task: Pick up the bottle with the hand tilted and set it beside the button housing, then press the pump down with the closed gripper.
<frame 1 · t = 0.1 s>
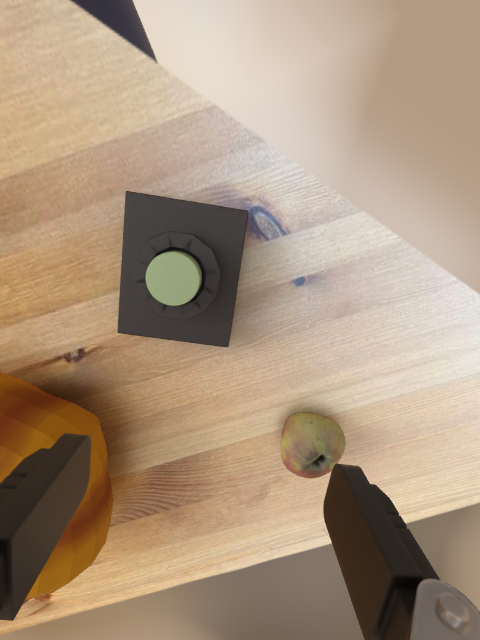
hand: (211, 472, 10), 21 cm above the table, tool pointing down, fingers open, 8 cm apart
decorative pumpkin: (36, 444, 34), on the table
button housing: (185, 271, 29), on the table
pump: (175, 277, 24), point 6 cm above the table, slide at 0.1 cm
apple: (298, 425, 34), on the table
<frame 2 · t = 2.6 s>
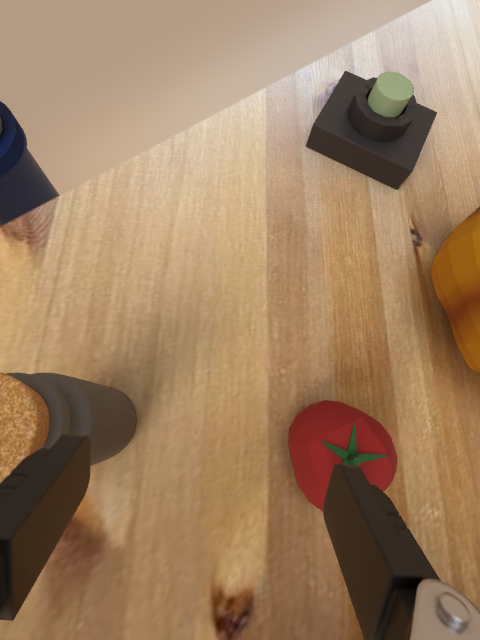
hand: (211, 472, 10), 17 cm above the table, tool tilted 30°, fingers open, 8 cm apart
button housing: (365, 139, 38), on the table
bottle: (102, 422, 27), on the table
tomato: (323, 446, 28), on the table
pump: (389, 95, 33), point 6 cm above the table, slide at 0.1 cm
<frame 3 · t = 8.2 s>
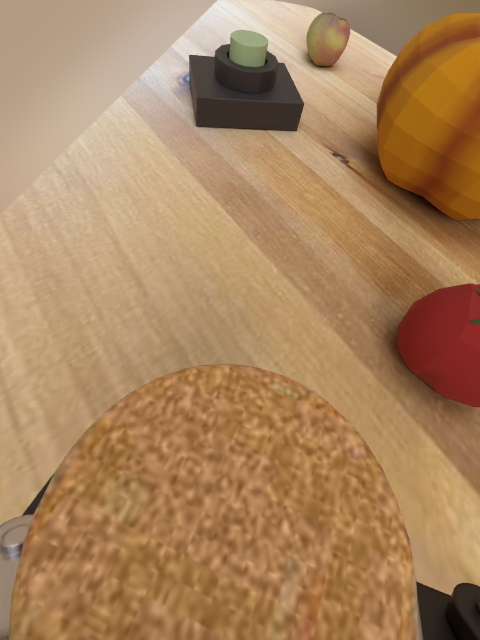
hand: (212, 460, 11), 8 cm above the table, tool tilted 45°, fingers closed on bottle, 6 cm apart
decorative pumpkin: (438, 182, 36), on the table
button housing: (241, 106, 39), on the table
bottle: (200, 513, 17), on the table, touching gripper
tomato: (431, 360, 23), on the table
pump: (248, 50, 34), point 6 cm above the table, slide at 0.1 cm
apple: (321, 66, 48), on the table
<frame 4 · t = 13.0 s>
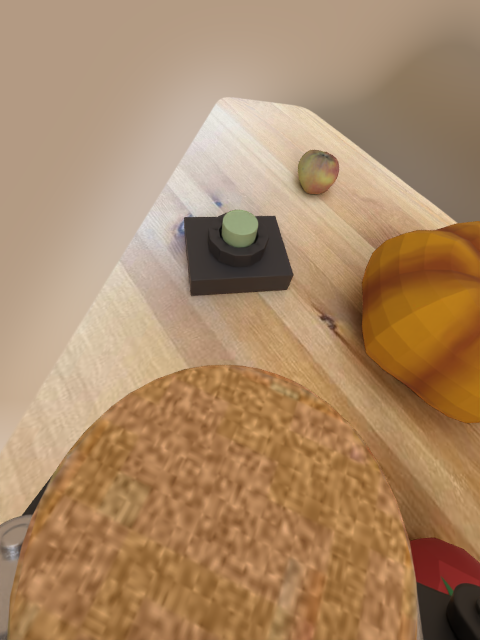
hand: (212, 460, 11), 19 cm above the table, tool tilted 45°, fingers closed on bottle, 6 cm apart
decorative pumpkin: (421, 343, 38), on the table
button housing: (234, 261, 40), on the table
bottle: (201, 513, 17), point 11 cm above the table, touching gripper
tomato: (408, 588, 25), on the table
pump: (239, 228, 36), point 6 cm above the table, slide at 0.1 cm
apple: (312, 191, 50), on the table
when the fingers open (8 cm above the table, at t = 17.9 s): bottle stays where it is, on the table.
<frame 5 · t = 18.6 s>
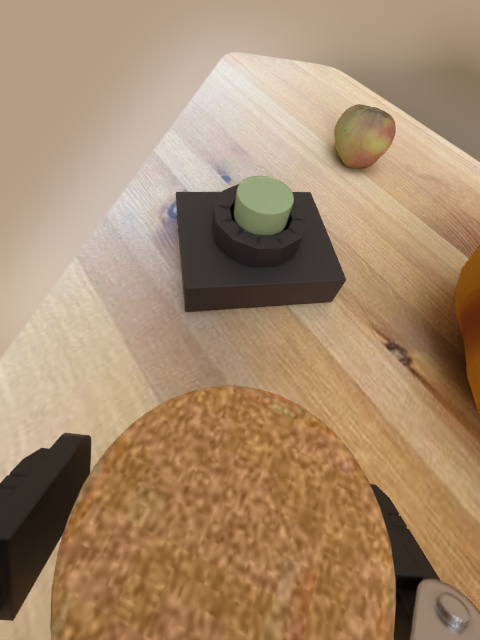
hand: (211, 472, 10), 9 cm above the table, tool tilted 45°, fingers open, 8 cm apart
button housing: (250, 258, 27), on the table
bottle: (204, 514, 17), on the table
pump: (262, 206, 22), point 6 cm above the table, slide at 0.1 cm
apple: (353, 165, 37), on the table
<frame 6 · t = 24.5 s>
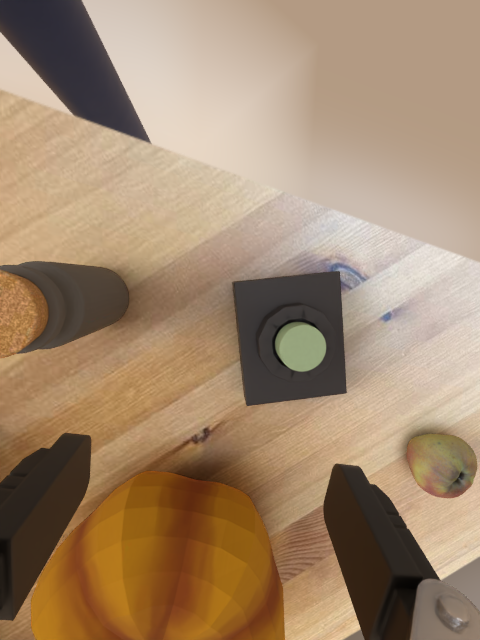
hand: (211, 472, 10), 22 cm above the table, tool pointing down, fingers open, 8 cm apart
decorative pumpkin: (177, 531, 35), on the table
button housing: (285, 334, 32), on the table
bottle: (100, 296, 31), on the table
pump: (299, 345, 27), point 6 cm above the table, slide at 0.1 cm
apple: (416, 448, 36), on the table
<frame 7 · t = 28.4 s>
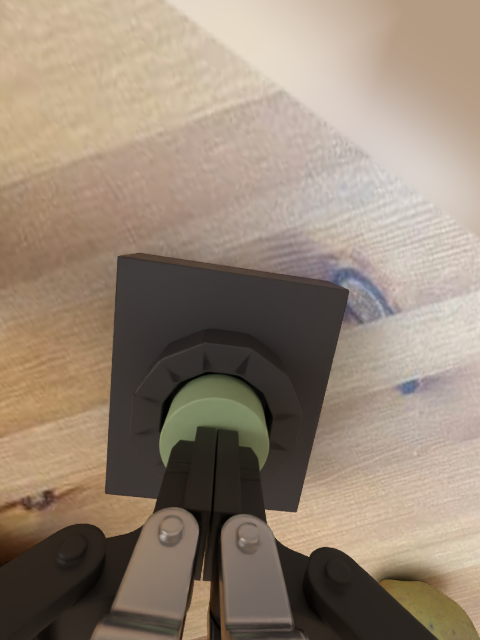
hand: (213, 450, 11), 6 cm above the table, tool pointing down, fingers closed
button housing: (220, 373, 17), on the table
pump: (215, 431, 12), point 5 cm above the table, slide at -0.1 cm, touching gripper
apple: (386, 588, 22), on the table
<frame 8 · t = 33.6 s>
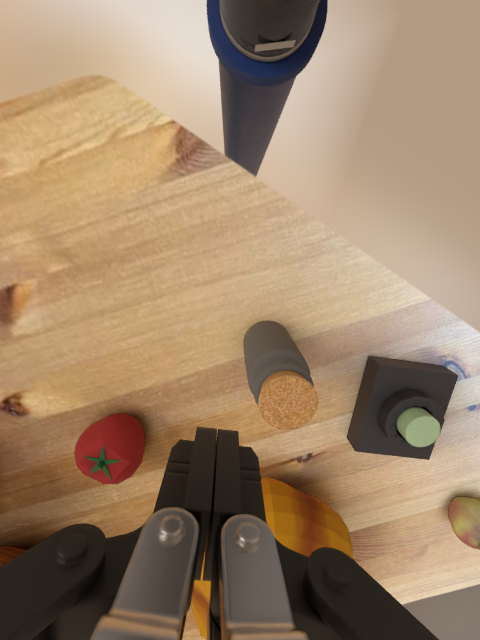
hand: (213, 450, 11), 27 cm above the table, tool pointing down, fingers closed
bowl: (19, 576, 47), on the table
decorative pumpkin: (263, 518, 46), on the table
button housing: (393, 402, 41), on the table
bottle: (266, 342, 39), on the table
tomato: (123, 430, 41), on the table
pump: (417, 426, 36), point 6 cm above the table, slide at 0.1 cm
apple: (455, 503, 46), on the table
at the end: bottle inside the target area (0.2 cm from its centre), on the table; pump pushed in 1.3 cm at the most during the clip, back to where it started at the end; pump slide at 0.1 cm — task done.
